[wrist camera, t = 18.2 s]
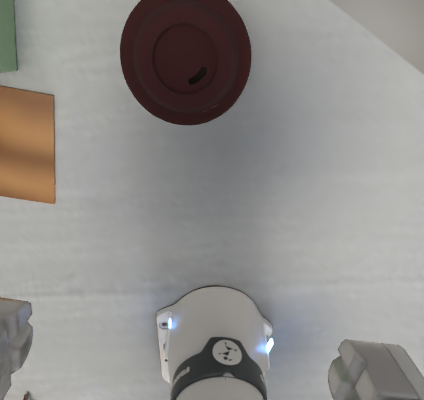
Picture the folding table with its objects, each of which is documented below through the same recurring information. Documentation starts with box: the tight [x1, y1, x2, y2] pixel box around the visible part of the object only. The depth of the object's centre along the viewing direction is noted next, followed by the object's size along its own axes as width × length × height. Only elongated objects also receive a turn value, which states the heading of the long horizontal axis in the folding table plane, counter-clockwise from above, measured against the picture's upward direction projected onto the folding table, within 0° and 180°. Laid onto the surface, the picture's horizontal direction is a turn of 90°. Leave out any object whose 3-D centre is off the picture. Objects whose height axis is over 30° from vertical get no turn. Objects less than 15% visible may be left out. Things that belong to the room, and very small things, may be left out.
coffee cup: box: [120, 0, 251, 125], centre depth 30 cm, size 10×10×15 cm
